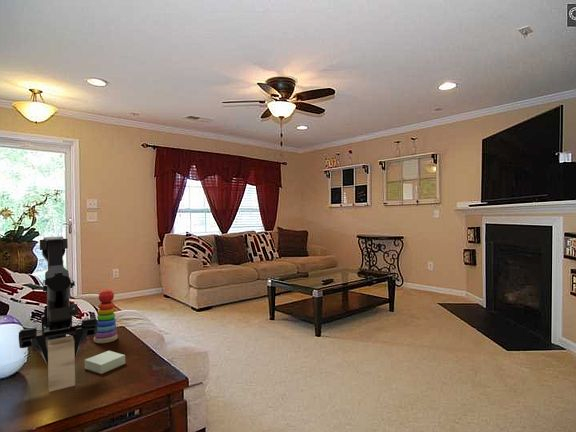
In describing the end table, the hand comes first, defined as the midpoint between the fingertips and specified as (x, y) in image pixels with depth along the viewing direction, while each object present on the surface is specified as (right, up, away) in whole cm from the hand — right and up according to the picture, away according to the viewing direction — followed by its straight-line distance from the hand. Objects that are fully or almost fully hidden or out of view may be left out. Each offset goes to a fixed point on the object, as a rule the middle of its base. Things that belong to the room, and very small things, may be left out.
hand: (61, 360), depth 97 cm
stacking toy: (-6, -7, +35) cm, 36 cm away
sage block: (+5, -7, +13) cm, 16 cm away
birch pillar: (-1, -7, +1) cm, 7 cm away
